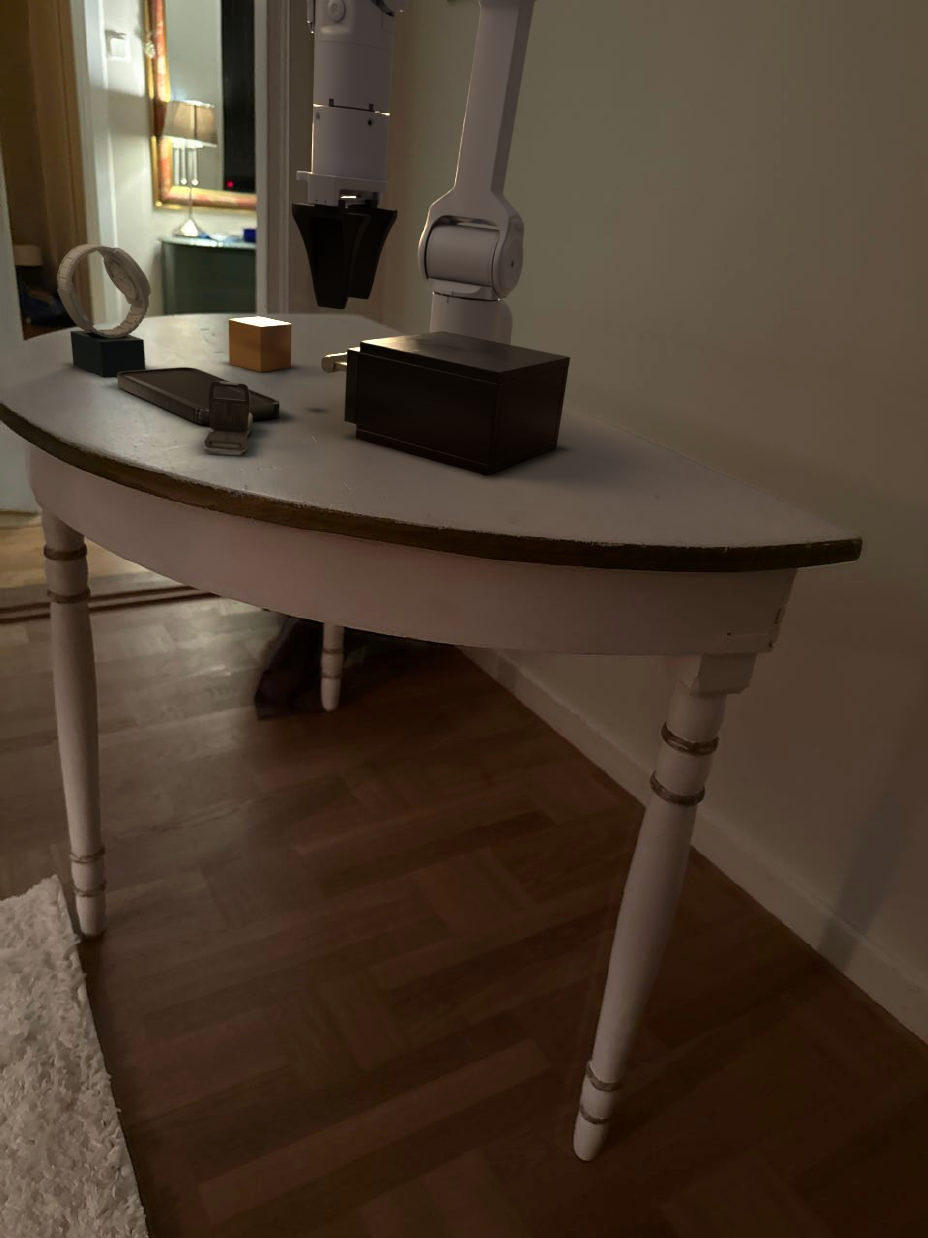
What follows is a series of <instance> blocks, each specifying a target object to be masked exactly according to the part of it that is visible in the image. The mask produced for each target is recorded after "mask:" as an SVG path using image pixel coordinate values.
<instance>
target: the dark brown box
mask: <svg viewBox="0 0 928 1238" xmlns="http://www.w3.org/2000/svg"><path fill="white" fill-rule="evenodd" d="M359 347H360V356H359V377H358V398H357V419H356V424H355V438H356V439H359V440H363V441H366V442H370V443H373V444H377V445H380V446H385V447H387V448H391V449H394V450H398V451H402V452H405V453H408V454H411V455H416V456H419V457H422V458H426V459H429V460H432V461H437V462H439V463H444V464H447V465H450V466H454V467H456V468H457V467H458V468H461V469H465V470H469V471H472V472H475V473H479V474H482V475H486V476H488V475H491V474H495V473H496V472H499V471H501V470H504V469H507V468H510V467H512V466H514V465H517V464H519V463H522V462H525V461H527V460H530V459H532V458H535V457H537V456H539V455H542V454H545V453H548V452H549V451H553V450H556V449H557V447H558V439H559V435H560V434H559V433H560V429H561V428H560V427H561V421H562V414H563V408H564V407H563V406H564V402H565V394H566V389H567V388H566V387H567V381H568V375H569V370H570V369H569V367H570V363H571V356H567V355H562V354H556V353H552V352H547V351H542V350H537V349H532V348H527V347H522V346H517V345H513V344H510V345H508V344H503V343H499V342H494V341H489V340H484V339H479V338H474V337H469V336H464V335H459V334H455V333H450V332H445V331H438V332H431V333H430V332H424V333H415V334H409V335H402V336H400V335H399V336H392V337H385V338H378V339H377V338H376V339H370V340H369V339H368V340H361V341H360V342H359Z"/></svg>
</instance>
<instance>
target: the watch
mask: <svg viewBox="0 0 928 1238" xmlns="http://www.w3.org/2000/svg"><path fill="white" fill-rule="evenodd" d="M95 252H98V253H99V254H100V256H101V258H102V259H103V261H102V263H103V265H104V268H105V271H106V273H107V275H108V278H109V279H110V280H111V282H112V283H113V285H114V286H115V288H117V289H118V290H119V292H120V293H122V294H123V295H124V298H125V300H126V303H127V304H128V305H130V307H129V310H128V312H127V314H126V316H125V318H124V319H123V320H122V321H121V322H120V324H118V325H116V326H115V327H113V328H112V329H111V328H110V329H97V328H95V327H94V325H95V324H94V322H93V321H92V320H91V318H90V317H89V316H88V314H87V312H86V311H85V309H84V307H83V305H82V302H81V300H80V298H79V295H78V293H76V291H75V285H74V283H73V278H72V277H73V275H74V272H75V268H76V267H77V266H78V265H79V263H80V262H81V260H83V259H84V258H86V257H87V256H88V255H91V254H93V253H95ZM56 281H57V289H56V291H57V293H58V296H59V299H60V301H61V303H62V305H63V307H64V309H65V311H66V313H67V314H68V316H69V317H70V318H71V320H72V321H73V322H74V324H75V325H76V326H77V328H79V329H81V330H70V342H71V343H70V344H71V354H72V364H73V365H72V366H75V367H78V368H80V369H83V370H85V371H88V372H89V373H93V374H95V375H98V376H100V377H103V378H107V377H117V373H118V372H122V371H134V370H146V355H145V354H146V353H145V339H143V338H140V337H137V336H135V335H131V334H132V333H133V332H134V331H135V330H137V329H138V328H139V326H140V325H141V324H142V323H143V321H144V319H145V316H146V314H147V312H148V308H149V307H150V299H149V296H151V293H152V287H151V284H150V281H149V279H148V278H147V275H146V274H145V272H144V270H143V269H142V268H141V266H140V265H139V264H138V263H137V261H136V260H135V259H134V258H133V256H131V255H130V254H129V253H128V252H127V251H125V250H123V248H121V247H118V246H117V247H111V246H106V245H103V244H98V243H83V244H80V245H77V246H75V247H74V248H72V249H71V250H69V251H68V252H67V254H65V255H64V257H63V258H62V260H61V263H60V264H59V267H58V270H57V275H56Z"/></svg>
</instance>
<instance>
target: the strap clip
mask: <svg viewBox="0 0 928 1238" xmlns="http://www.w3.org/2000/svg"><path fill="white" fill-rule="evenodd" d="M216 386H225V387H236V388H243V389H244V392H245V400H234V399H222V398H214V392H215V387H216ZM249 389H250V388H249V386H248V385H247V384H246V383H240V382H235V381H234V382H233V381H229V382H224V381H214V382H213V383H212V384H211V386H210V391H209V416H210V425H209V427H210V429H211V431H209V432H208V434H207V436H206V438H205V439H204V450H207V451H211V452H223V453H224V452H225V453H236V454H241V453H244V452H246V451H248V436H249V434H250V432H251V430H252V428H253V421H254V420H253V416H252V414H251V413H249V410H250V395H249Z"/></svg>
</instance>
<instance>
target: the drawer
mask: <svg viewBox="0 0 928 1238" xmlns="http://www.w3.org/2000/svg"><path fill="white" fill-rule="evenodd" d="M359 356H360V346H358V347H351V348H347V349H346V352H343V353H336V354H328V355H324V356H323V357H322V359H321V361H320V366H321V369H322V370H323V372H325V373H327V374H332V373H337V372H344V373H346V374H345V393H344V394H345V395H344V417H343V418H344V419H343V420H344V422H346V423H349V424H354V425H356V419H357V398H358V377H359Z"/></svg>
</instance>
